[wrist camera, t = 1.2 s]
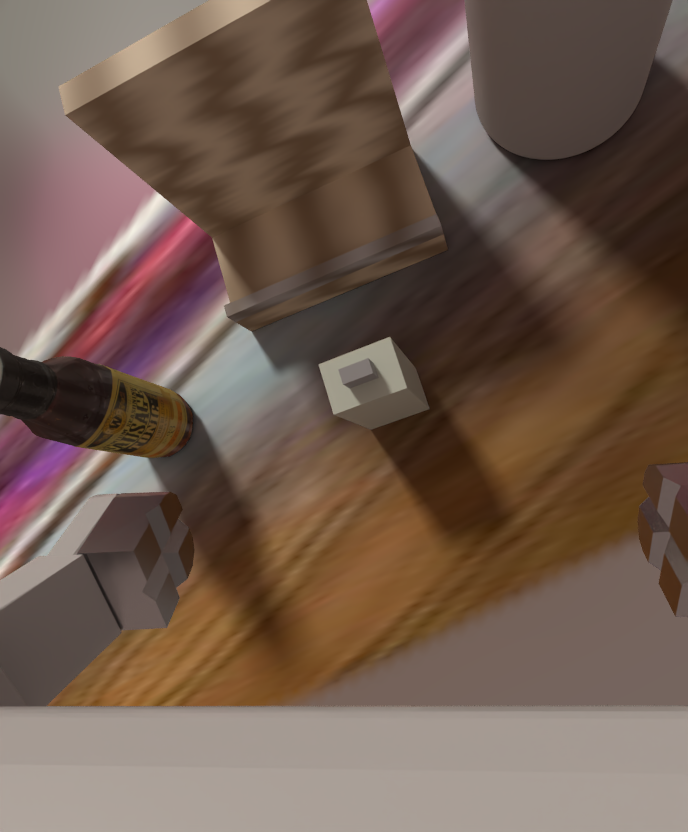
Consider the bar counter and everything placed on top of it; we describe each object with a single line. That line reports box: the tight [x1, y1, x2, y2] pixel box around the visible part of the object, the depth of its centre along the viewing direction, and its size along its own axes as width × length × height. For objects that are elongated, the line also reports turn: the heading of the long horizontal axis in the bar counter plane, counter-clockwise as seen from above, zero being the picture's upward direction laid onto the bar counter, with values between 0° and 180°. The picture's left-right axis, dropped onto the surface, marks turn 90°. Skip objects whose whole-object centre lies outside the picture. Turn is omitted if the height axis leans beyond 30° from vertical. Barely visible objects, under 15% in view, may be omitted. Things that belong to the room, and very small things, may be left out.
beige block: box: [318, 337, 430, 430], centre depth 41 cm, size 5×4×12 cm
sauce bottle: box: [0, 347, 193, 458], centre depth 43 cm, size 7×6×20 cm
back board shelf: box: [59, 0, 448, 331], centre depth 40 cm, size 18×10×20 cm, turn 107°
